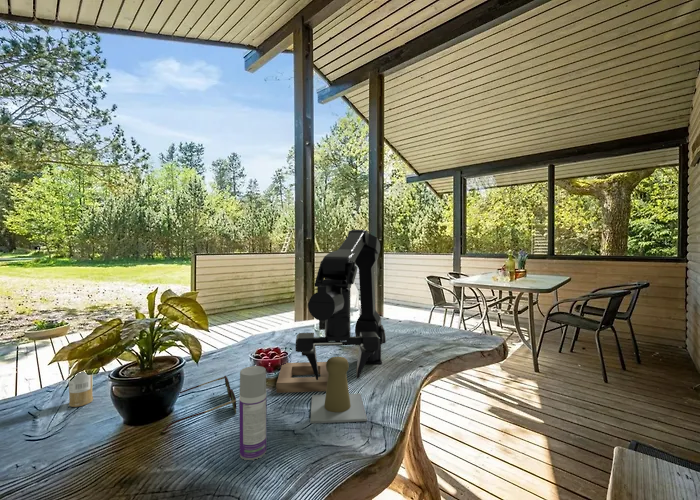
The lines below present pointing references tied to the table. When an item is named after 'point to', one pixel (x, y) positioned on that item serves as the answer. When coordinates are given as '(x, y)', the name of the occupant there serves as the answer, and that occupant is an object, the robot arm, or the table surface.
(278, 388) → the holder
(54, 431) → the table surface
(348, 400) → the tan knobbed peg
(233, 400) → the sunglasses
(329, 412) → the tile
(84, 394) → the sprinkles bottle
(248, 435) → the container
